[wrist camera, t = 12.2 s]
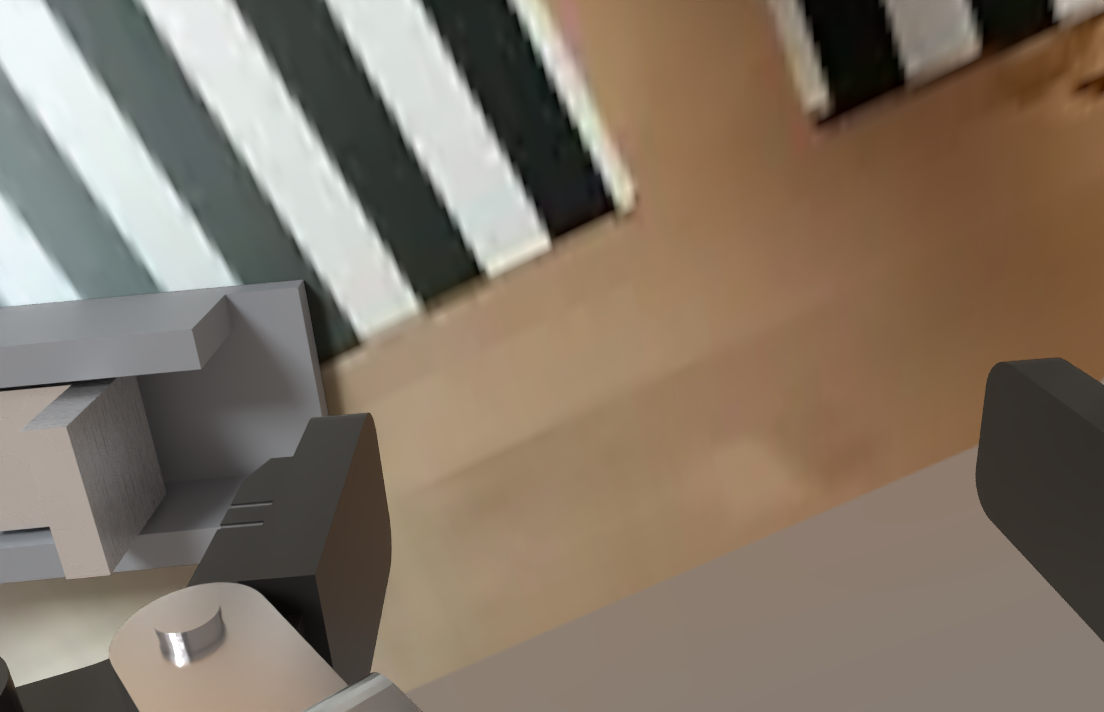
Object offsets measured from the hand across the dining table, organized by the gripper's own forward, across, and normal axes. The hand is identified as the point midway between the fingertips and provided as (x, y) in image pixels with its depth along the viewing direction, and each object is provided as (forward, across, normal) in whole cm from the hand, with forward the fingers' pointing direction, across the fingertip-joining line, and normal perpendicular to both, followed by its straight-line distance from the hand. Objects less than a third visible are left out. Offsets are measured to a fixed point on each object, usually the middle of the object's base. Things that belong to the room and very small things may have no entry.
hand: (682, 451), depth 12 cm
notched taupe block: (+26, +21, +10) cm, 35 cm away
